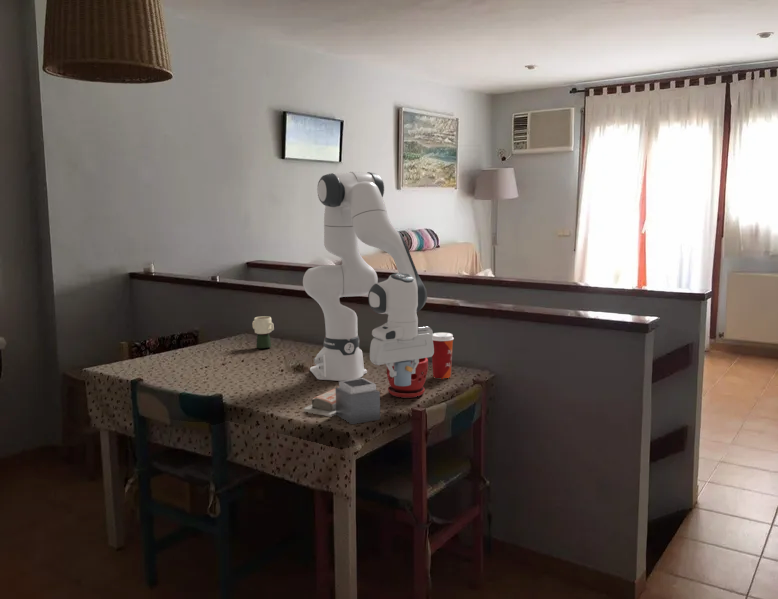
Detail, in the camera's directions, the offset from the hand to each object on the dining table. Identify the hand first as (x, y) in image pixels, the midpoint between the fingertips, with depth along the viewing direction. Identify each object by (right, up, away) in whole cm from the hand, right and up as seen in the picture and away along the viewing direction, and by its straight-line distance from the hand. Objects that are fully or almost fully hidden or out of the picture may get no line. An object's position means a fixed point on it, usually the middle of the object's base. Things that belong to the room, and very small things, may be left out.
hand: (402, 375), depth 199 cm
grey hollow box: (-13, -11, -8) cm, 19 cm away
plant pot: (+2, -8, +14) cm, 16 cm away
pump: (0, -3, 0) cm, 3 cm away
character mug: (-56, +2, +83) cm, 100 cm away
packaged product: (-20, -10, +3) cm, 23 cm away
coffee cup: (+14, -5, +35) cm, 38 cm away
